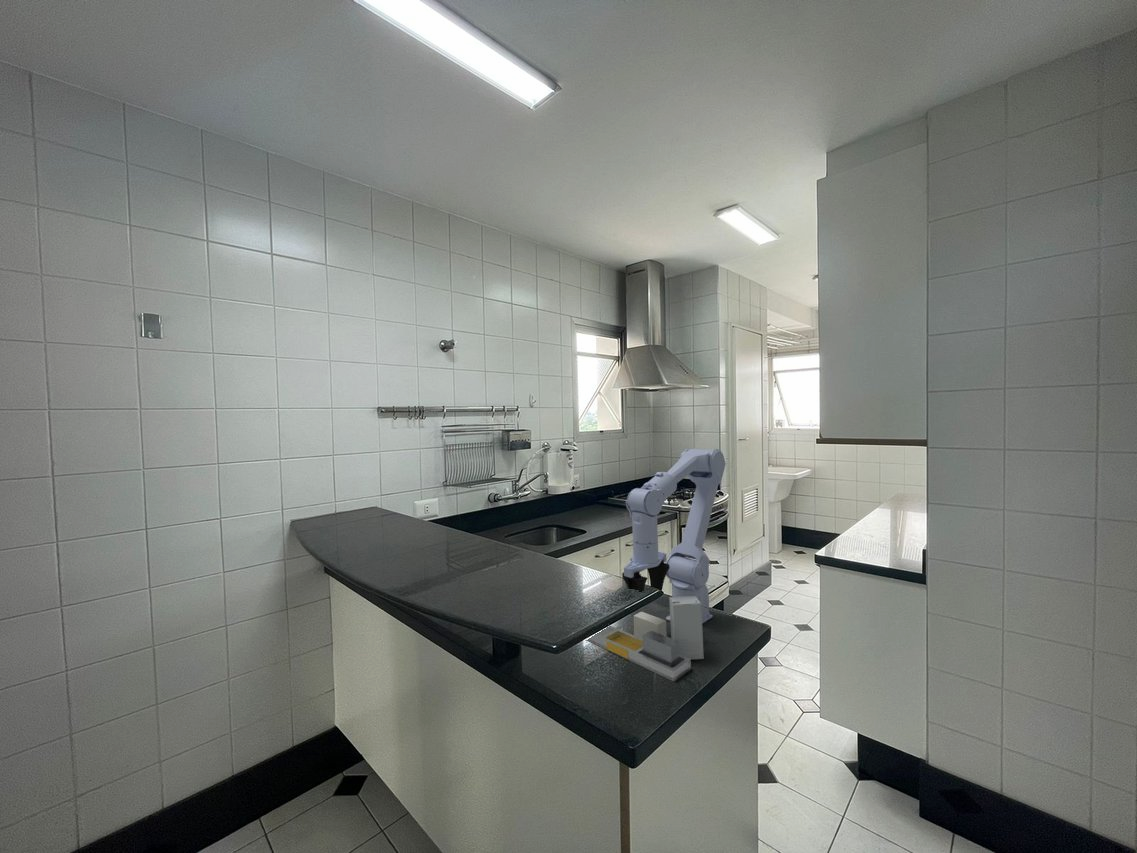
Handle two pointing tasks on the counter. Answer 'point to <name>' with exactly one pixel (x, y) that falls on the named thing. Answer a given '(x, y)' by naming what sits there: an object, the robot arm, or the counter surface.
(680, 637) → the skincare box
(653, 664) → the tray
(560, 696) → the counter surface
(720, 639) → the counter surface
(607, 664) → the counter surface
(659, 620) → the tall white prism
